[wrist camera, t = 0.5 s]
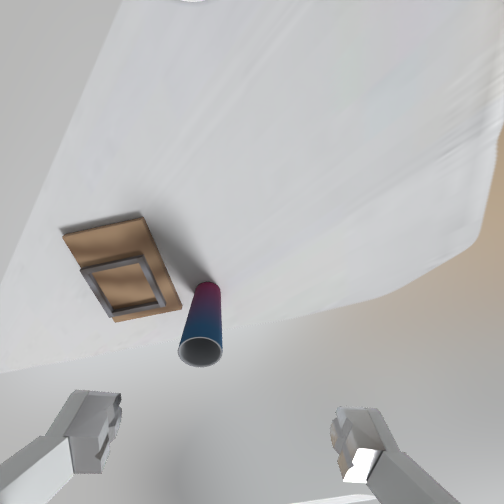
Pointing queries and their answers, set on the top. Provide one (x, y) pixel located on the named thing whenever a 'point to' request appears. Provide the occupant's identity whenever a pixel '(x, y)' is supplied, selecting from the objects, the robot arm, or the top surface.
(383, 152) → the top surface
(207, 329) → the cup
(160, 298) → the board
